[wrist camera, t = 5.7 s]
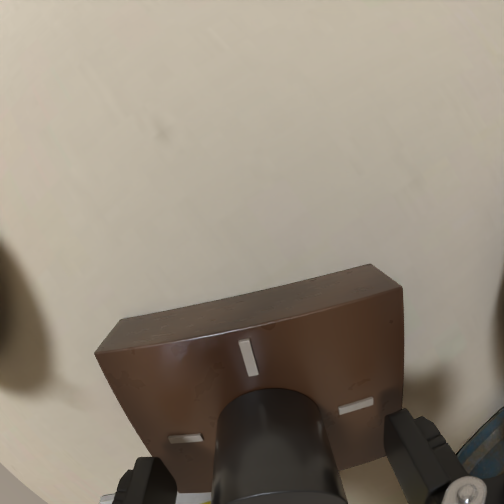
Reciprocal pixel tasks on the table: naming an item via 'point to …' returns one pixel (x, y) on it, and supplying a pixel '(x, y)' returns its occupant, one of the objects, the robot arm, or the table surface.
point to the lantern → (485, 450)
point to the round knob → (274, 452)
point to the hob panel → (262, 366)
